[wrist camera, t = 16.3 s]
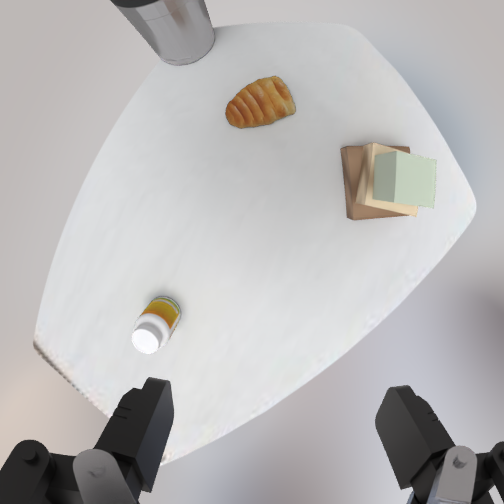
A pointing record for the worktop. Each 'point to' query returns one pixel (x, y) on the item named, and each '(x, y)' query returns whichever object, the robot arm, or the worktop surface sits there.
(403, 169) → the sage block
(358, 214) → the block bottom
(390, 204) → the block top
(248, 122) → the pastry
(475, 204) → the worktop surface
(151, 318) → the supplement bottle
